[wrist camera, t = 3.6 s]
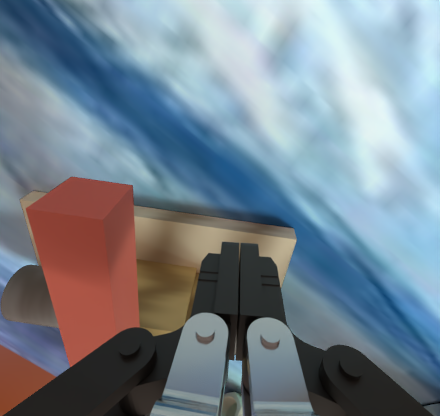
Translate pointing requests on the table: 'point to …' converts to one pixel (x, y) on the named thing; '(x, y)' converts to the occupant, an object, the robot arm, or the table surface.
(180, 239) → the valve fixture
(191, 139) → the table surface
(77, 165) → the table surface
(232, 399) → the ball valve
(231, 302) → the robot arm
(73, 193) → the lever
